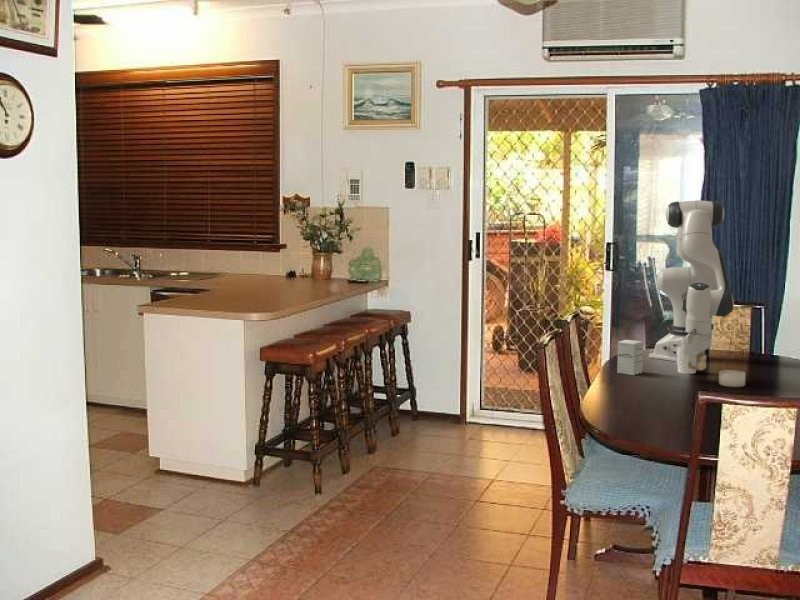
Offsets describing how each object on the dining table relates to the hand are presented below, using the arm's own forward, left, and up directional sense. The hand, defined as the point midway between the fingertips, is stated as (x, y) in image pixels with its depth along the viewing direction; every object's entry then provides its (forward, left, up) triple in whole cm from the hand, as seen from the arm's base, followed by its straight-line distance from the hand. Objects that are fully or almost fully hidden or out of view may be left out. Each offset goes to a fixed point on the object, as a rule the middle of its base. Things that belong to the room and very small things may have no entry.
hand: (697, 363), depth 327 cm
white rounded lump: (+12, +1, -7) cm, 14 cm away
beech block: (0, 0, -2) cm, 2 cm away
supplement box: (-27, +1, -7) cm, 27 cm away
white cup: (-9, +14, -7) cm, 18 cm away
